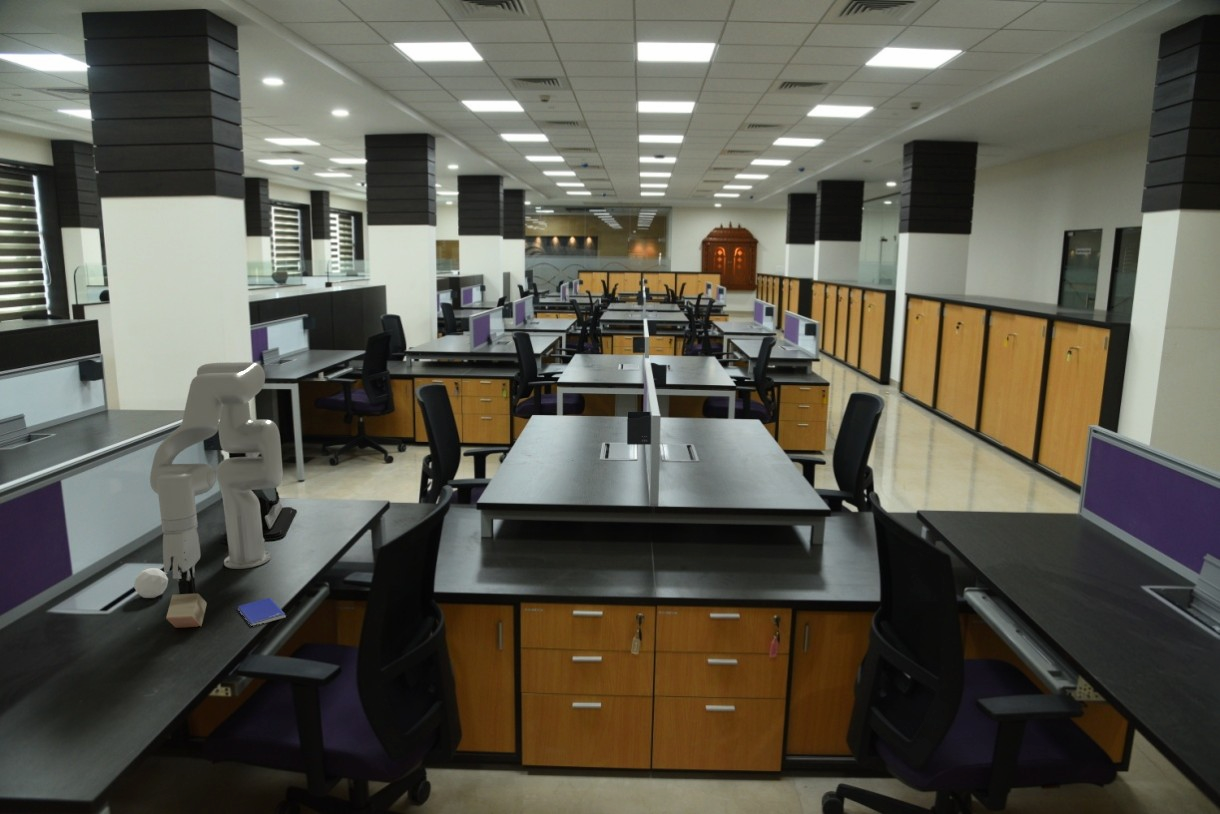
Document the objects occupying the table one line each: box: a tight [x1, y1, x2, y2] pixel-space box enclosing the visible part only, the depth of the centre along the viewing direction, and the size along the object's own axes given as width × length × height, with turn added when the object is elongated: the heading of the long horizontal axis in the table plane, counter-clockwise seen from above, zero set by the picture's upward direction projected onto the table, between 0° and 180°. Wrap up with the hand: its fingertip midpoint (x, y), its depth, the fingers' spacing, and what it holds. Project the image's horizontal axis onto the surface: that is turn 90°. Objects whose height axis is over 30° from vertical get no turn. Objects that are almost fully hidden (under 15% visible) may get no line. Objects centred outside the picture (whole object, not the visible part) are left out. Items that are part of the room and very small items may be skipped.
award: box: [221, 453, 298, 545], centre depth 259 cm, size 30×19×30 cm, turn 13°
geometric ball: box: [133, 567, 169, 599], centre depth 208 cm, size 8×8×8 cm
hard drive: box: [237, 597, 287, 627], centre depth 198 cm, size 2×8×12 cm
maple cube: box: [165, 593, 208, 629], centre depth 190 cm, size 6×6×6 cm
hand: (187, 594), depth 191 cm, fingers closed
